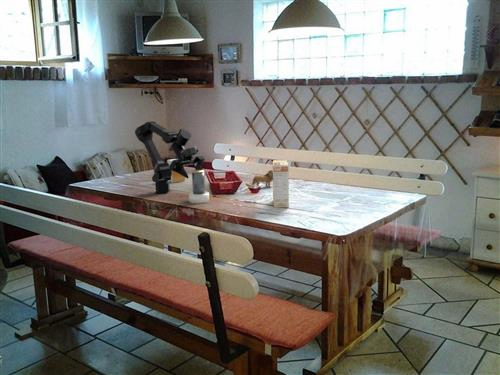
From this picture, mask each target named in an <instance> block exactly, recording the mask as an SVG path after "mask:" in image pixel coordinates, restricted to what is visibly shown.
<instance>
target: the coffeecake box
mask: <svg viewBox="0 0 500 375" xmlns="http://www.w3.org/2000/svg"><path fill="white" fill-rule="evenodd" d="M272 170H273V180H272V195H273V196H272V198H273V199H272V200H273V208H289V206H290V200H289V199H290V197H289V196H290V192H289V191H290V188H289V187H290V186H289V185H290V184H289V183H290V180H289V178H290V177H289V163H288V160H287V159H284V160H283V159H282V160H279V159H275V160H272Z"/></svg>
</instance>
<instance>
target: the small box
mask: <svg viewBox="0 0 500 375" xmlns="http://www.w3.org/2000/svg"><path fill="white" fill-rule="evenodd" d="M173 160H177V159H176V158H173V159H172V158H171V159H167V160H166V162H168V163H169V166H170V164H171V162H172V161H173ZM183 167H184V168H185V166H184V165H183ZM183 181H184V182H186V180H185V177H184V176H182V175H180V174H178V173H176V172H174V171H172V176H171V180H168V183H172V184H174V183H182V182H183Z"/></svg>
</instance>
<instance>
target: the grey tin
mask: <svg viewBox="0 0 500 375" xmlns="http://www.w3.org/2000/svg"><path fill="white" fill-rule="evenodd" d="M205 181H206V178H205V169H202V170H196V169H192V170H191V183H192V184H191V185H192V186H191V187H192V192H193V194H204V193H205V191H206V183H205Z"/></svg>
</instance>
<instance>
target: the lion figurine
mask: <svg viewBox="0 0 500 375" xmlns="http://www.w3.org/2000/svg"><path fill="white" fill-rule="evenodd" d="M271 182H273V169H270V170H268V171H267V172H266V174H264V175H255V176H254V177H253V179H252V183H251V186H252V185H253V186H255V184H256V187H257V186H259V187H260V188H259V189H261V186H260V183H265V187H268V188H271Z"/></svg>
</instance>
